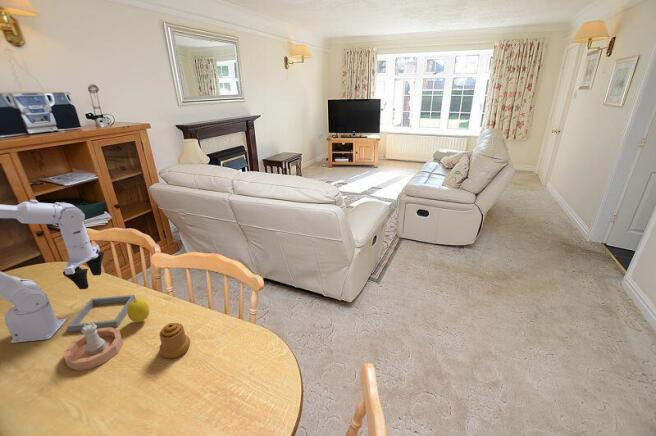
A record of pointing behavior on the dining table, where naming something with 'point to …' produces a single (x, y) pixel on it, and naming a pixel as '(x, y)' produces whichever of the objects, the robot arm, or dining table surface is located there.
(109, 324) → the grey square frame
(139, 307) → the lemon
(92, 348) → the rook chess piece
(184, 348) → the ornamental finial
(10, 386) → the dining table surface
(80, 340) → the bowl
